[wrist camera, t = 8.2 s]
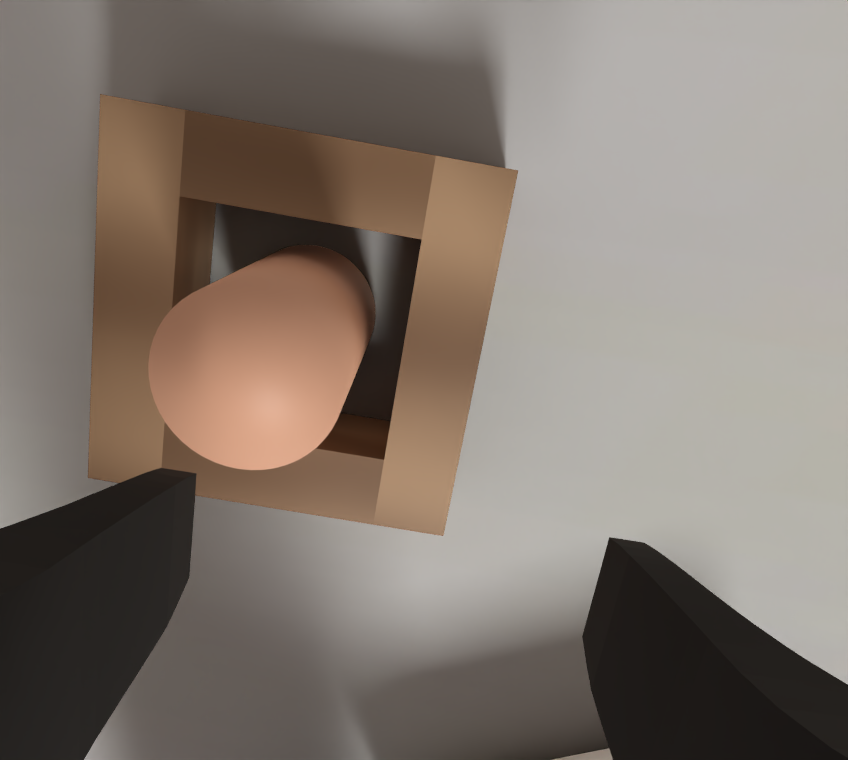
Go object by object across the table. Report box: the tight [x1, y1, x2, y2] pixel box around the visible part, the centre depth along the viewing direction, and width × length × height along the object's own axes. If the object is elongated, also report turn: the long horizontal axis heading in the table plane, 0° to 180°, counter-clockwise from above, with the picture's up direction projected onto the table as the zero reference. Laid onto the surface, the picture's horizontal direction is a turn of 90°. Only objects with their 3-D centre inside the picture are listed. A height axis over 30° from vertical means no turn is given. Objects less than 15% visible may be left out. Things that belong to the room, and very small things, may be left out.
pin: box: [148, 245, 376, 470], centre depth 17 cm, size 4×4×7 cm
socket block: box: [88, 94, 518, 536], centre depth 19 cm, size 10×10×3 cm
